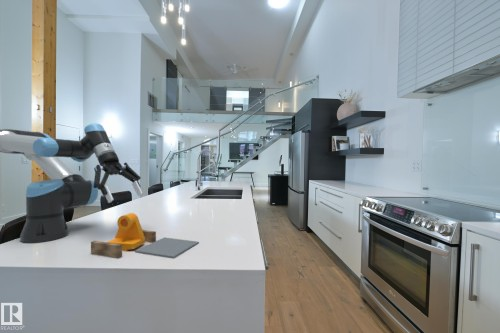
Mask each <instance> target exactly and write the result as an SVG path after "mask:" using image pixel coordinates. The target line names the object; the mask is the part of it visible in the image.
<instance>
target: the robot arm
mask: <svg viewBox="0 0 500 333" xmlns="http://www.w3.org/2000/svg"><path fill="white" fill-rule="evenodd" d="M83 130H84V134H85V136H83V137H82V138H81V139H80V140H74V139H61V138H52V137H51V136H50V135H49V134H48V133H44V132H40V131H29V130H21V129H20V130H18V129H13V128H12V129H11V128H3V129H0V153H4V154H14V155H15V154H16V155H23V156H24V157H25V158H26V159H28V160H29V161H33V162H34V163H36V164H37V166H38V167H39V168H40V169H41V170H42V172H44V173H45V174H46V175H47V177H48V178H49V179H44V180H39V181H34V182H31V183H29V184H28V185H27V186H26V190H25V191H26V192H25V197H26V198H25V199H26V200H25V204H26V205H25V207H26V208H25V209H26V216H25V217H26V218H25V219H26V221H25V223H24V226H23V229H22V230H21V233H20V236H19V237H20V238H19V240H20V242H21V243H25V244H26V243H27V244H28V243H29V244H31V243H32V244H35V243H43V242H44V243H45V242H50V241H54V240H55V241H56V240H59V239H62V238H64V237H67V236H68V235H69V228H68V225H67V222H66V220H65V217H64V210H65V209H69V208H70V209H71V208H72V209H73V208H77V207H86V206H88V205H92V204H94V203H95V202H96V200H97V198H98V196H99V190H100V191H101V192H100V193H101V194H102V195H103V196H105V198H106V201H107V203H108V204H110V203H111V204H112V202H113V201H114V196H113V195H112V193H111V191H110V188H109V187H108V185H106V184H107V181H108V178H109V176H117V175H119V176H122V177H123V178H125V179H127V180H128V181H130V182H132V183H131V185H132V187H133V189H134V191H135V193H136V195H137V197H140V196H142V194H143V191H142V189H141V185H140V182H139V181H140V180H141V178H142V177H141V175H139V174H138V173H137V172H136V171H135V170H133V169H132V168H131V166H129V164H128V163H127V162H124V163H120V159H119V157H118V154H117V153H116V151H115V149H114V146H113V145H112V143H111V140H110V139H109V136H108V133H107V131H106V130H105V128H104V126H103V125H102V124H101V123H97V122H95V123H94V122H93V123H89V124H88V125H86V126H84V128H83ZM93 155H95V158H96V159H97V162H98V163H99V164H97V165H95V167H94V168H93V169H94V179H93V180H91V179H89V180H86V179H85V178H84V177H83V176H82V175H81V174H78V173H74V172H73V171H72V170H71V169H70V167H68V165H66V163H64V161H63V160H61V158H71V160H73V161H75V162H78V163H83V162H86V161H87V160H88V159H89V158H91V157H92V156H93ZM102 171H104V175H103V177H102V176H101V174H102ZM101 177H102V178H101Z"/></svg>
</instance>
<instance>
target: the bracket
mask: <svg viewBox="0 0 500 333" xmlns="http://www.w3.org/2000/svg"><path fill="white" fill-rule="evenodd" d="M116 224H117V227H118V229H117V232H116V233H115V234H116V235H115V237H114V238H112V239H110V240H108V241H107V242H108V243H114V244H121V245H122V252H127V251H130V250H134V249H135V250H136V249H137V248H139V247H140V246H142V245H144V244H145V243H146V242H145V237H144V234H143V231H142V230H143V228H142V225H141V222H140V219H139V216H138V215H137V214H136V213H133V212H130V213H126V214H123V215H121V216H120V217H118V219H117V222H116Z"/></svg>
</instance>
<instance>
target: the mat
mask: <svg viewBox="0 0 500 333" xmlns="http://www.w3.org/2000/svg"><path fill="white" fill-rule="evenodd" d="M199 243H200V242H199V241H196V240H188V239H187V240H186V239H179V238H171V237H162V238H160V239H158V240H156V241H155V242H153V243H152V242H150V243H149V244H146V245H144V246H142V247H140V248H138V249H137V248H136V249H135V250H134V253H137V254H143V255H144V254H145V255H150V256H156V257H163V258H168V259H169V258H170V259H175V258H177V257H178V256H180V255H182V254H184V253H185V252H187V251H188V250H191V249H192V248H194V247H195V246H197V245H199Z"/></svg>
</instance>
